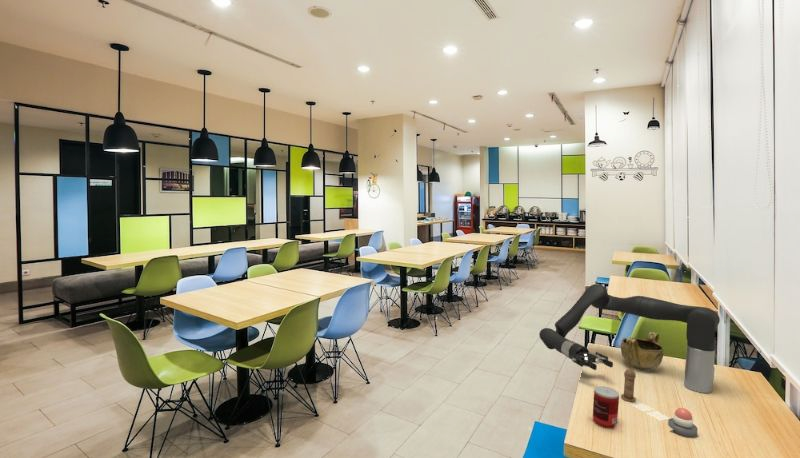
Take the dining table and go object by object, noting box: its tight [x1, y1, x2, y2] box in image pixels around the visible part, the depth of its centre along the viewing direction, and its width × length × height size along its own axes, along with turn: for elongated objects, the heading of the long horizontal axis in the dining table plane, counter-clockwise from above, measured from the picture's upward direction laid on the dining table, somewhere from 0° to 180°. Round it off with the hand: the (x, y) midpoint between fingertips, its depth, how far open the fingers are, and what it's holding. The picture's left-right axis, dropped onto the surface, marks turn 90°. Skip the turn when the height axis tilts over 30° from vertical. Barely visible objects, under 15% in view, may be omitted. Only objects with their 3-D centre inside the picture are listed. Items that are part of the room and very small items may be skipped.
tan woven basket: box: [620, 331, 664, 371], centre depth 185 cm, size 22×17×15 cm
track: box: [619, 395, 671, 422], centre depth 147 cm, size 8×18×1 cm, turn 20°
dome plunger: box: [673, 407, 694, 428], centre depth 134 cm, size 5×5×5 cm
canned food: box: [592, 385, 620, 429], centre depth 138 cm, size 8×8×11 cm
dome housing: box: [667, 417, 698, 439], centre depth 134 cm, size 8×8×2 cm
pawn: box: [620, 369, 637, 404], centre depth 152 cm, size 5×5×12 cm
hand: (604, 366), depth 163 cm, fingers open, 8 cm apart
